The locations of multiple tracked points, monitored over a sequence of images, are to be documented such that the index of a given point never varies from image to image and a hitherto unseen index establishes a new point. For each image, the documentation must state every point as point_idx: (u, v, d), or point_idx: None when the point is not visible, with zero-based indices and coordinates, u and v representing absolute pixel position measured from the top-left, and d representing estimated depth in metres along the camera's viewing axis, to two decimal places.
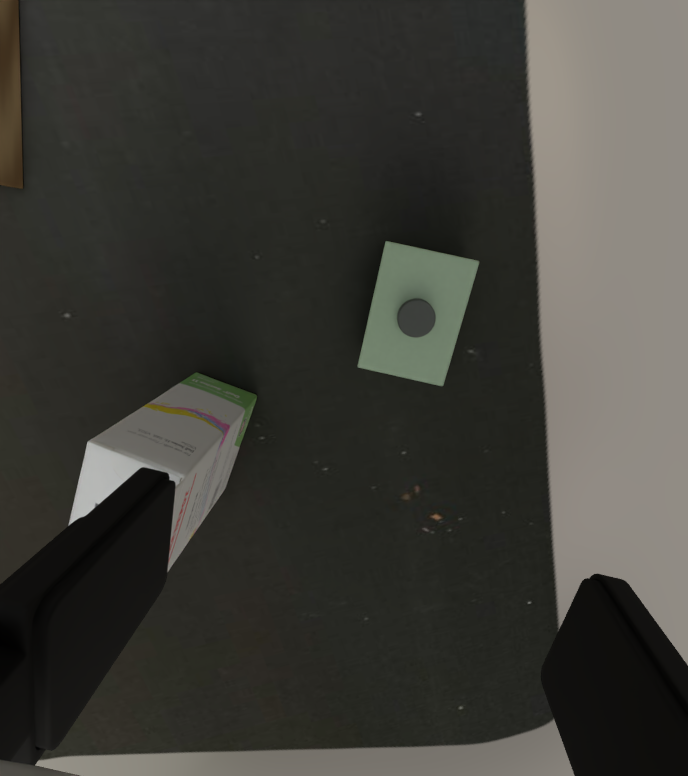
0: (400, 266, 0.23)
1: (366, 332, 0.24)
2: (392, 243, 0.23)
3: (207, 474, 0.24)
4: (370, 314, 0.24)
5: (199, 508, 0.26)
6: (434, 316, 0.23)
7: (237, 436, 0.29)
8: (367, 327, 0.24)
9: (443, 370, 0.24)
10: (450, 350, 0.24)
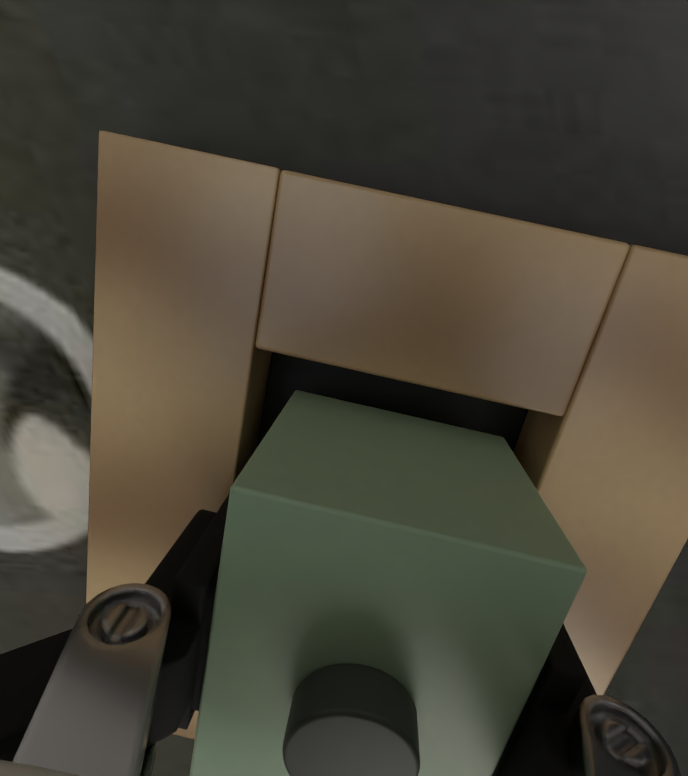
0: (292, 567, 0.06)
1: (199, 732, 0.08)
2: (255, 496, 0.06)
3: None
4: (204, 691, 0.07)
5: None
6: (415, 762, 0.06)
7: None
8: (200, 720, 0.07)
9: None
10: None
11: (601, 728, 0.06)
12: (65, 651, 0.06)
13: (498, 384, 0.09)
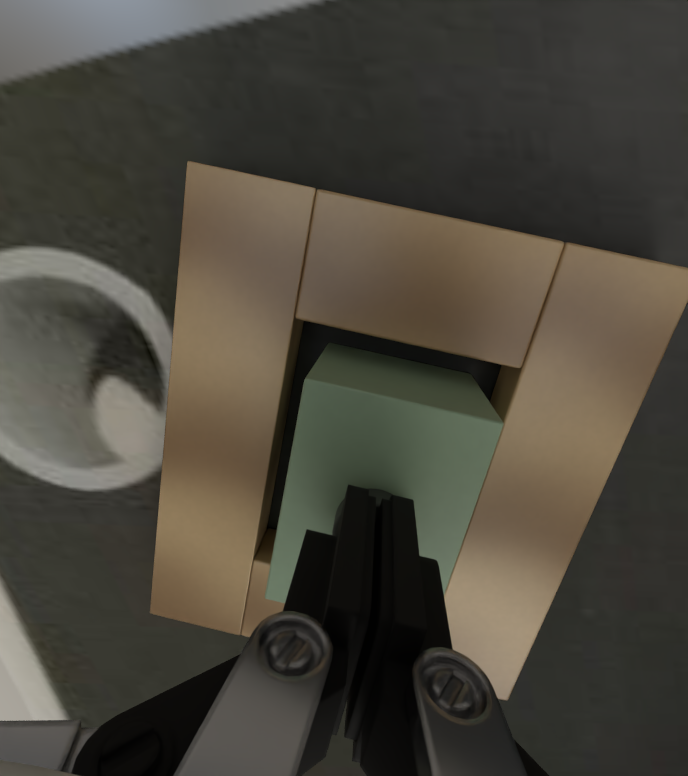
0: (338, 427, 0.11)
1: (277, 542, 0.12)
2: (319, 384, 0.11)
3: None
4: (282, 512, 0.12)
5: None
6: None
7: None
8: (278, 533, 0.12)
9: None
10: (443, 580, 0.12)
11: (432, 684, 0.06)
12: (252, 684, 0.06)
13: (473, 344, 0.13)
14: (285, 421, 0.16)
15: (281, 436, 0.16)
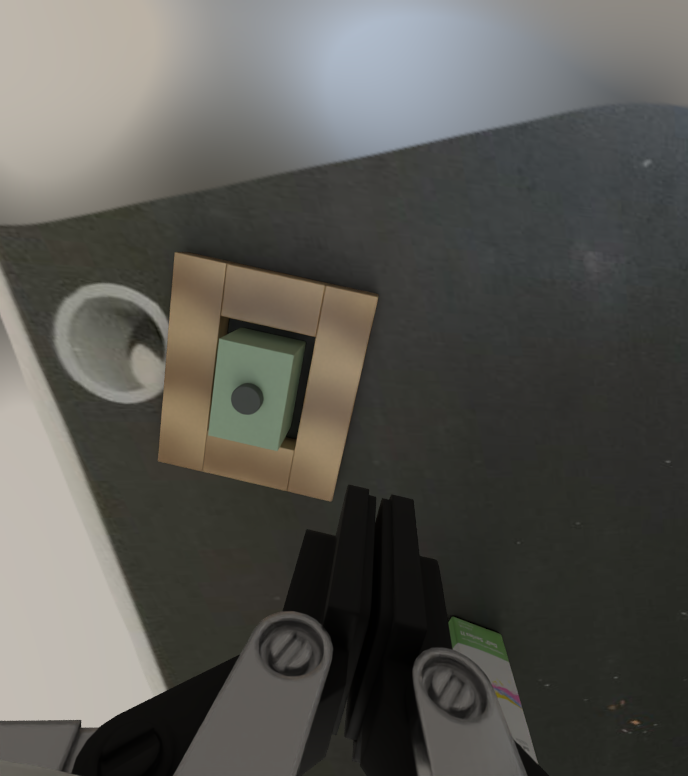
0: (233, 358, 0.28)
1: (212, 408, 0.30)
2: (224, 340, 0.28)
3: None
4: (213, 394, 0.29)
5: None
6: (259, 399, 0.28)
7: None
8: (212, 404, 0.30)
9: (276, 438, 0.30)
10: (279, 423, 0.29)
11: (432, 684, 0.06)
12: (252, 684, 0.06)
13: (294, 326, 0.30)
14: None
15: None
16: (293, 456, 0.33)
